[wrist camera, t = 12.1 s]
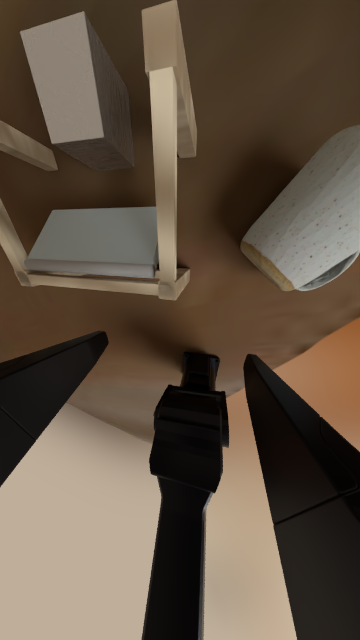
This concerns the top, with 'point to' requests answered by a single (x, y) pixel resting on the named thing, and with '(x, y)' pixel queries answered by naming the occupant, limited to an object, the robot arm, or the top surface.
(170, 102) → the birch frame
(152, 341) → the top surface
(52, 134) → the steel cube
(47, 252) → the flap
